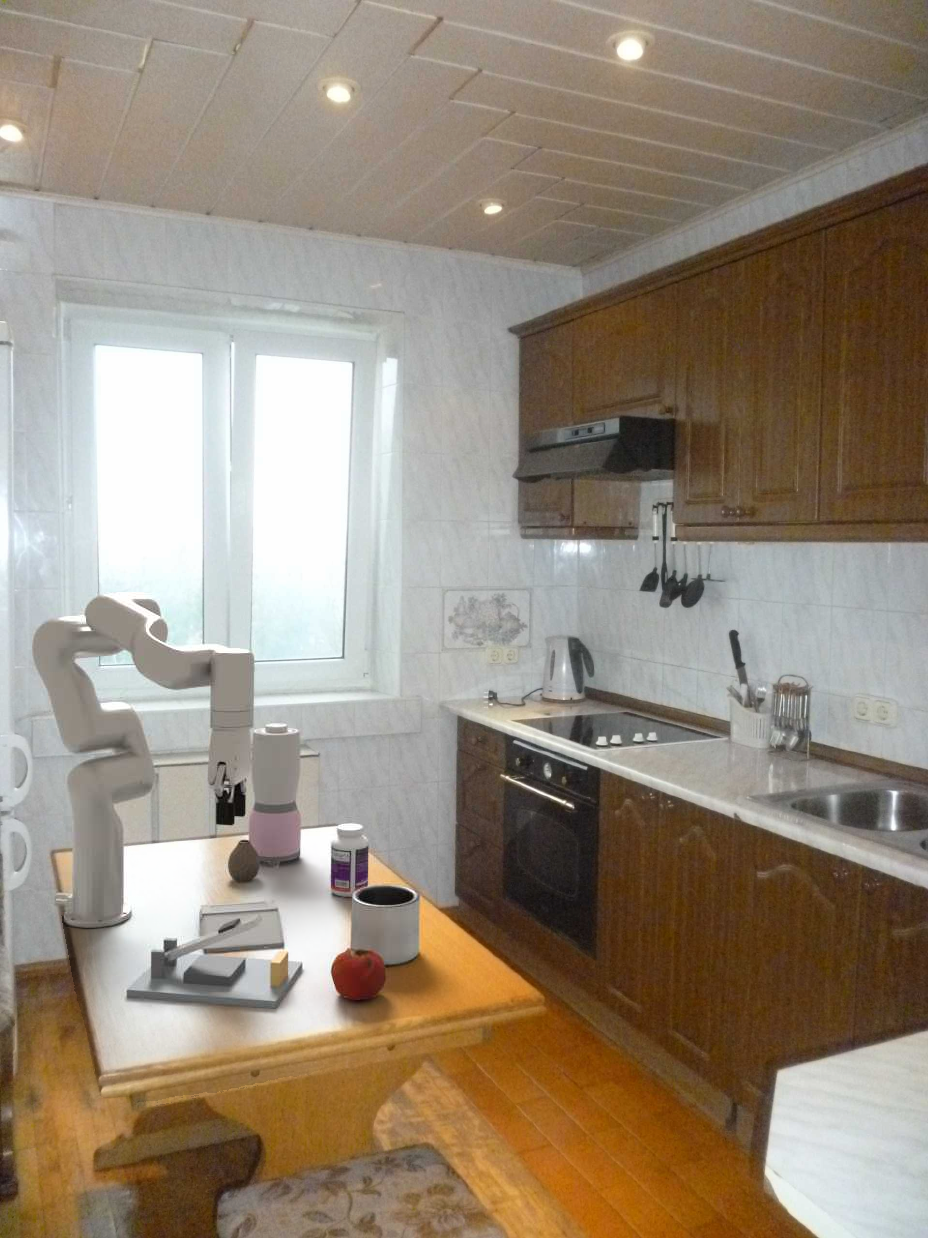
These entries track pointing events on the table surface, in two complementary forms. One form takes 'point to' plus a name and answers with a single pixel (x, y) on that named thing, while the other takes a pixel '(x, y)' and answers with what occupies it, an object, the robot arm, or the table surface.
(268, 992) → the clamp base
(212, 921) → the gadget
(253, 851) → the vase
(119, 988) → the table surface
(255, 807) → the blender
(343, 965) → the tomato
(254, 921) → the clamp bar
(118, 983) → the table surface
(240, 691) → the robot arm
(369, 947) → the planter
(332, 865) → the pill bottle
